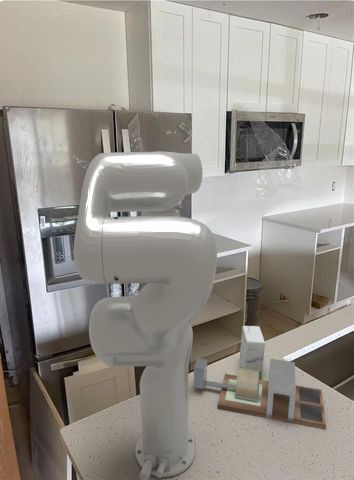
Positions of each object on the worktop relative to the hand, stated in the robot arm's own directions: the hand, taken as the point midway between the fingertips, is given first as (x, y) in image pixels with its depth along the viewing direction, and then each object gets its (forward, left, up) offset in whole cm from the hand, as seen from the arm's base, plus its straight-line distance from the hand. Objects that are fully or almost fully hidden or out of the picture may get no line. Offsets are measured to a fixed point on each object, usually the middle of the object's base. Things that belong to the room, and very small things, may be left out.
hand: (161, 272), depth 93 cm
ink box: (+8, -23, -31) cm, 39 cm away
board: (-3, -29, -30) cm, 42 cm away
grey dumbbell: (-3, -18, -29) cm, 34 cm away
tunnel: (-3, -31, -30) cm, 43 cm away
